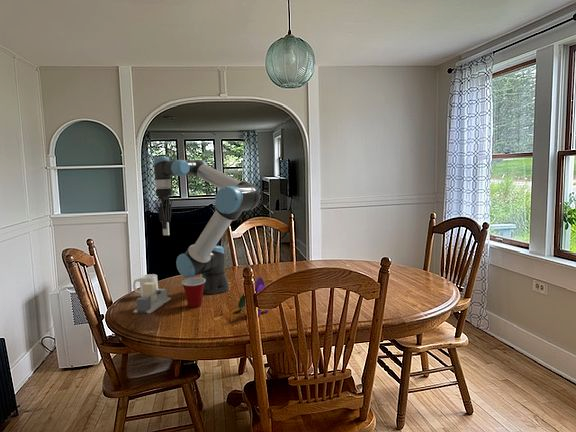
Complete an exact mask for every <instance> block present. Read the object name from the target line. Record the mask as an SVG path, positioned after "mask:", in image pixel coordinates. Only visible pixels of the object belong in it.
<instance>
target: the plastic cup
mask: <svg viewBox="0 0 576 432" xmlns="http://www.w3.org/2000/svg"><path fill="white" fill-rule="evenodd" d="M205 281H206V280H205V279H204V278H202V276H201V277H199V276H194V277H189V278H185V279H182V280H181V282H180V283H181V285H182V288H183V290H184V293H185V298H186V301H187V306H188V307H189V308H191V309H192V308H193V309H195V308H199V307H202V303H203V297H204V293H203V289H204V283H205Z"/></svg>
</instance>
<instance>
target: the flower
mask: <svg viewBox="0 0 576 432" xmlns="http://www.w3.org/2000/svg"><path fill="white" fill-rule="evenodd" d="M254 284H255V291H256V293H258V292H260V291H261V290H262V289H264V288H266V286H265V281H264V279H263V277H261V276H260V277H257V279H256V281H255V283H254ZM245 306H246V305H245V296H244V293H243V294H242V296H241V297H240V299H239V301H238V304H237V308H238V309H239V310H240V311H244V309H243V308H244V307H245ZM264 311H265V312H266V311H268V312H269V309H268V310H264ZM261 312H262V310H260V309H258V316H259V315H260V316H261V314H262V313H261Z"/></svg>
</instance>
